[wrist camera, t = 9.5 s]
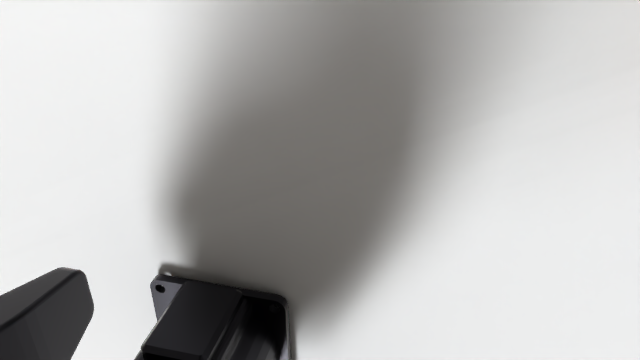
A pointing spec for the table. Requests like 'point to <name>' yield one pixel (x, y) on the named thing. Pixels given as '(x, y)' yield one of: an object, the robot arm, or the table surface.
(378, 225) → the table surface
